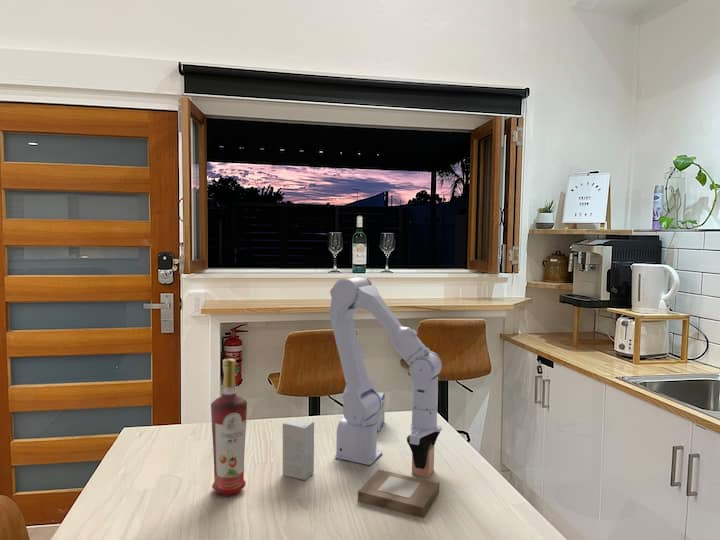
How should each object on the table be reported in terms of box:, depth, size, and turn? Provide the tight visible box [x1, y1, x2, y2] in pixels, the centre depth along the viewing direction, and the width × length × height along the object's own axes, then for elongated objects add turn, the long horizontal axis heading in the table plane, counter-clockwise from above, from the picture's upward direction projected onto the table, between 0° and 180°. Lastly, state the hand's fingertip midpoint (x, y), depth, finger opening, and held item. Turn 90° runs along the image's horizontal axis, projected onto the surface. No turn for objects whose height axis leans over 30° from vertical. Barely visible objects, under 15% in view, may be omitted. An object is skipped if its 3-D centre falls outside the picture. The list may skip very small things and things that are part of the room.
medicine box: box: [377, 391, 386, 432], centre depth 148 cm, size 8×4×9 cm, turn 168°
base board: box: [357, 469, 440, 518], centre depth 109 cm, size 14×11×2 cm
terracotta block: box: [411, 444, 435, 478], centre depth 120 cm, size 4×4×6 cm
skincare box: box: [282, 417, 315, 481], centre depth 117 cm, size 6×4×12 cm
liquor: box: [210, 358, 248, 497], centre depth 109 cm, size 7×7×28 cm
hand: (423, 463), depth 120 cm, fingers closed on terracotta block, 4 cm apart
